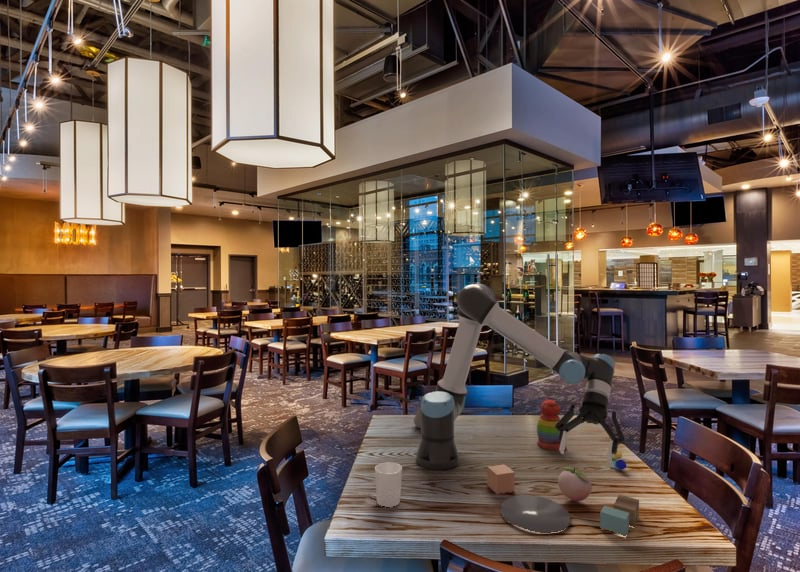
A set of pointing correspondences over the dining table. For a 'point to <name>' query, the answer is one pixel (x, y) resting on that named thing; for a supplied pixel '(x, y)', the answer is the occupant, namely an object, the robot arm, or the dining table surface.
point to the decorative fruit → (574, 484)
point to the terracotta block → (500, 479)
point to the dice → (617, 461)
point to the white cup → (388, 483)
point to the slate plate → (535, 513)
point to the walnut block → (628, 507)
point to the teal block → (614, 520)
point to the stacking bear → (549, 426)
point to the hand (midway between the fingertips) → (584, 457)
